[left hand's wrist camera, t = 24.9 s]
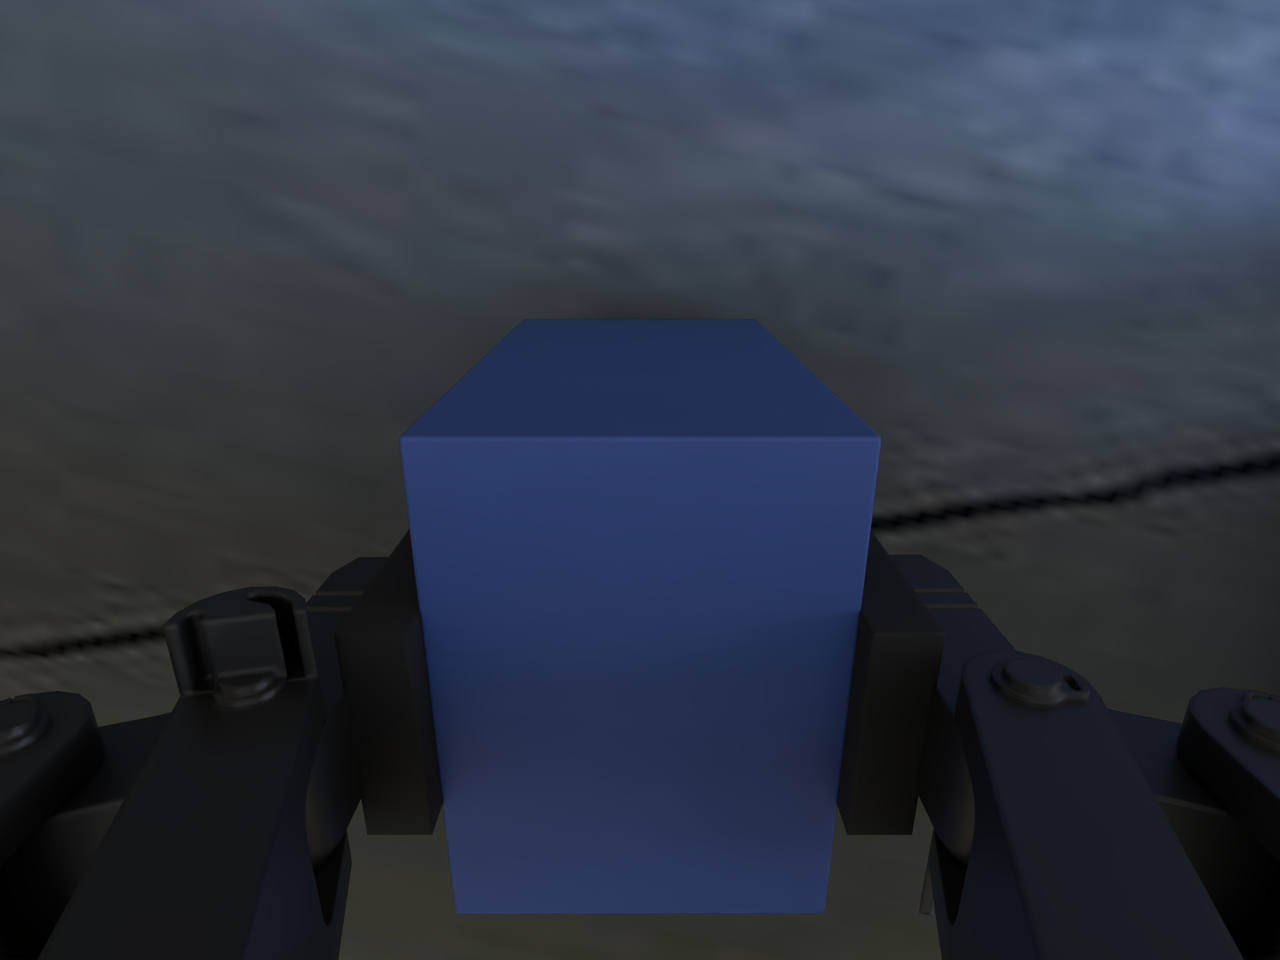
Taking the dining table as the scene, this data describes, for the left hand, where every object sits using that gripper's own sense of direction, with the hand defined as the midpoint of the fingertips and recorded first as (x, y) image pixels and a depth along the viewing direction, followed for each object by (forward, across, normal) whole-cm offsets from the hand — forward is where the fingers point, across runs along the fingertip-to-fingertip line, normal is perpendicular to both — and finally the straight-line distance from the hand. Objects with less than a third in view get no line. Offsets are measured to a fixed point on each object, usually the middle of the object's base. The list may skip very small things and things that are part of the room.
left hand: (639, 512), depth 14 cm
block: (+2, 0, 0) cm, 2 cm away
